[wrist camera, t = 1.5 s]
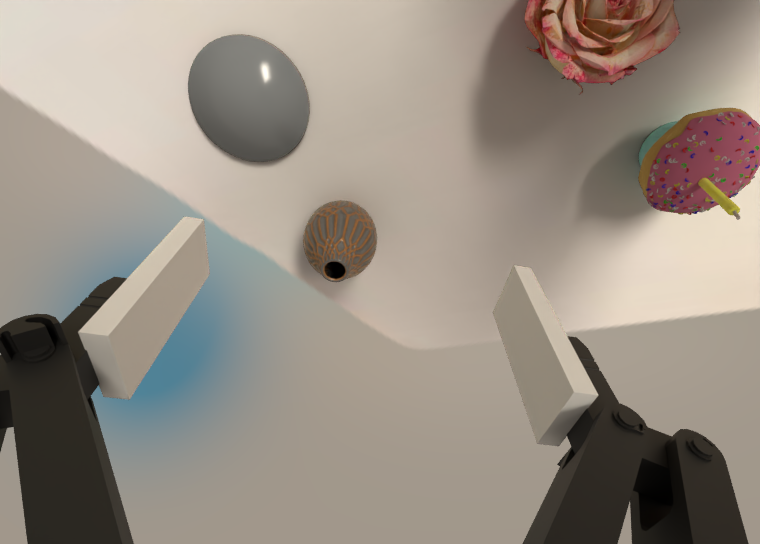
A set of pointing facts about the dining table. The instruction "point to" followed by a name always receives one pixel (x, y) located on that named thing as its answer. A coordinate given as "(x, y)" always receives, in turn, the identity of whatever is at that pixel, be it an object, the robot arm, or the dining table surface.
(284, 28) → the dining table surface
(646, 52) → the flower
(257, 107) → the grey flat disc
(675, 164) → the cupcake
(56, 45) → the dining table surface
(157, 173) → the dining table surface
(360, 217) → the vase
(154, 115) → the dining table surface
